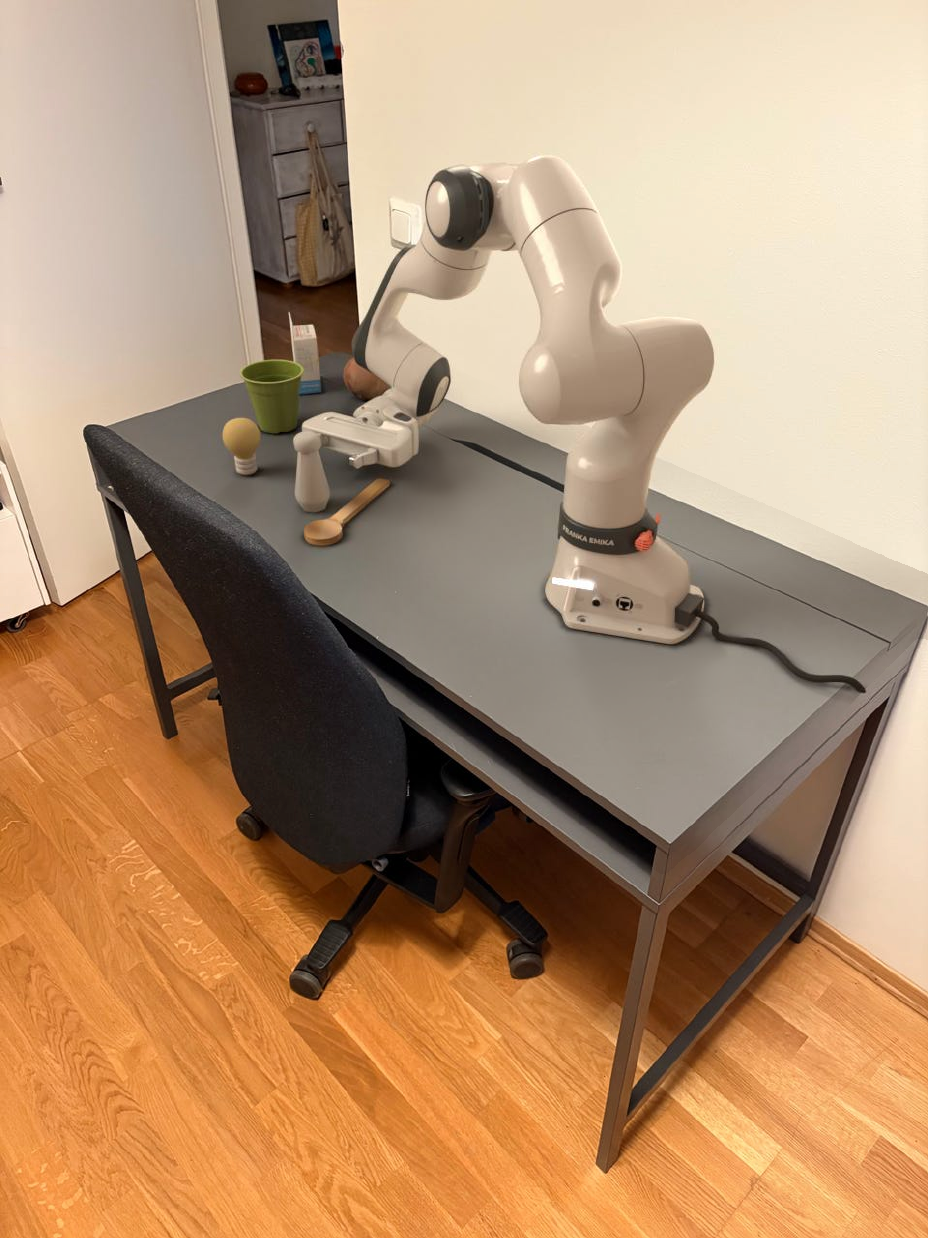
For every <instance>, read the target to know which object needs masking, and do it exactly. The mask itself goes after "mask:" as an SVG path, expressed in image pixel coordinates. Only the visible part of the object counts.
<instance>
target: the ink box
mask: <svg viewBox="0 0 928 1238" xmlns="http://www.w3.org/2000/svg"><path fill="white" fill-rule="evenodd" d="M288 318H289V328H290V339H291V350H292V358H293V362H296V363H298V364H300V365H301V366H302V367H303V368H304V373H303V374H302V376H301V384H300V386H299V395H307V394H318V393H319V394H320V393H322V383H321V373H320V361H319V348H318V340H317V339H318V338H317V334H316V329H315V326H314V324H303V325H293V321H292V317H291V313H290V311H288Z"/></svg>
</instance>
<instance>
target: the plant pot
mask: <svg viewBox="0 0 928 1238" xmlns="http://www.w3.org/2000/svg"><path fill="white" fill-rule="evenodd" d="M303 373H304V368H303V367H302V366H301V365H300V364H298V363H296V362H294V360H293V361H292V360H287V359H264V360H258V361H255V362H252V363H249V364H247V365H244V366H243V367H242V368H241V369H240V370H239V377H240V378H241V379H242V380H243V381H244V384H245V387H246V389H247V391H248V394H249V398H250V401H251V404H252V407H253V411H254V414H255V417H256V422H257V425H258V428H259V430H260V431H262V432H264V433H267V434H279V433H281V432H283V433H288V432H292V431H293V430H294V429H296V427H298V417H299V415H298V414H299V400H300V399H299V398H300V394H299V386H300V384H301V376H302V374H303Z"/></svg>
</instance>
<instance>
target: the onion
mask: <svg viewBox="0 0 928 1238" xmlns="http://www.w3.org/2000/svg"><path fill="white" fill-rule="evenodd" d="M342 375H343V381H344V385H345V386H346V387H347V389H348V390H349V392H351V394H352V395H353V396H354V397H355V398H357V399H359V400H362V401H366V400H372V399H374V398H375V397H378V396H382V395H383V394H384V393H385V392H386V391H387V390H388V389H389V385H388V384H387V383H386V382H384V381H383V380H382V379H380V378H379V377H378V376H376V375H375V374H373V373H371V372H369V371H367V370H366V369H364V368H362V367H361V366H359V365H357V364H356V362H355V359H354V356H353V357H352V358H350V359H349V360H348V361H347V362H346V364H345V366H344V368H343V374H342Z"/></svg>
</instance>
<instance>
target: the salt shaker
mask: <svg viewBox="0 0 928 1238" xmlns="http://www.w3.org/2000/svg"><path fill="white" fill-rule="evenodd" d="M292 443H293V447H294V450H295V451H296V452H297V458H296V471H295V473H296V474H295V484H294V497H295V500H296V501H297V503H298V504H299V506H300V507H301V508H302V509H303V511H304V512H305V513H315V514H316V513H319V512H321V511H324V510H326V507H327V505H328V502H329V500H330V498H331V490H330V487H329V483H328V480H327V477H326V473H325V470H324V466H323V462H322V459H321V456H320V451H319V450H320V449H321V441H320V437H319V435H318V434H316V433H315V432H311V431H304V432H302V431H301V432H298V433H296V435H294V437H293V440H292Z"/></svg>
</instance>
